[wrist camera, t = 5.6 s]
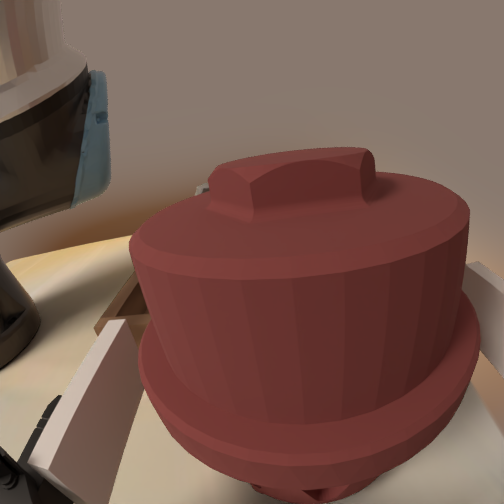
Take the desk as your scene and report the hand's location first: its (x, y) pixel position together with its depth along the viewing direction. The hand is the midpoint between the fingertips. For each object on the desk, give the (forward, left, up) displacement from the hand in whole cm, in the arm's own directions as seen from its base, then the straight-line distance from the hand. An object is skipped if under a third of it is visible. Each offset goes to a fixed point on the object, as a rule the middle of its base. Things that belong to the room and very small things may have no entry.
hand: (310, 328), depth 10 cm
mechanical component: (+1, -1, -7) cm, 7 cm away
